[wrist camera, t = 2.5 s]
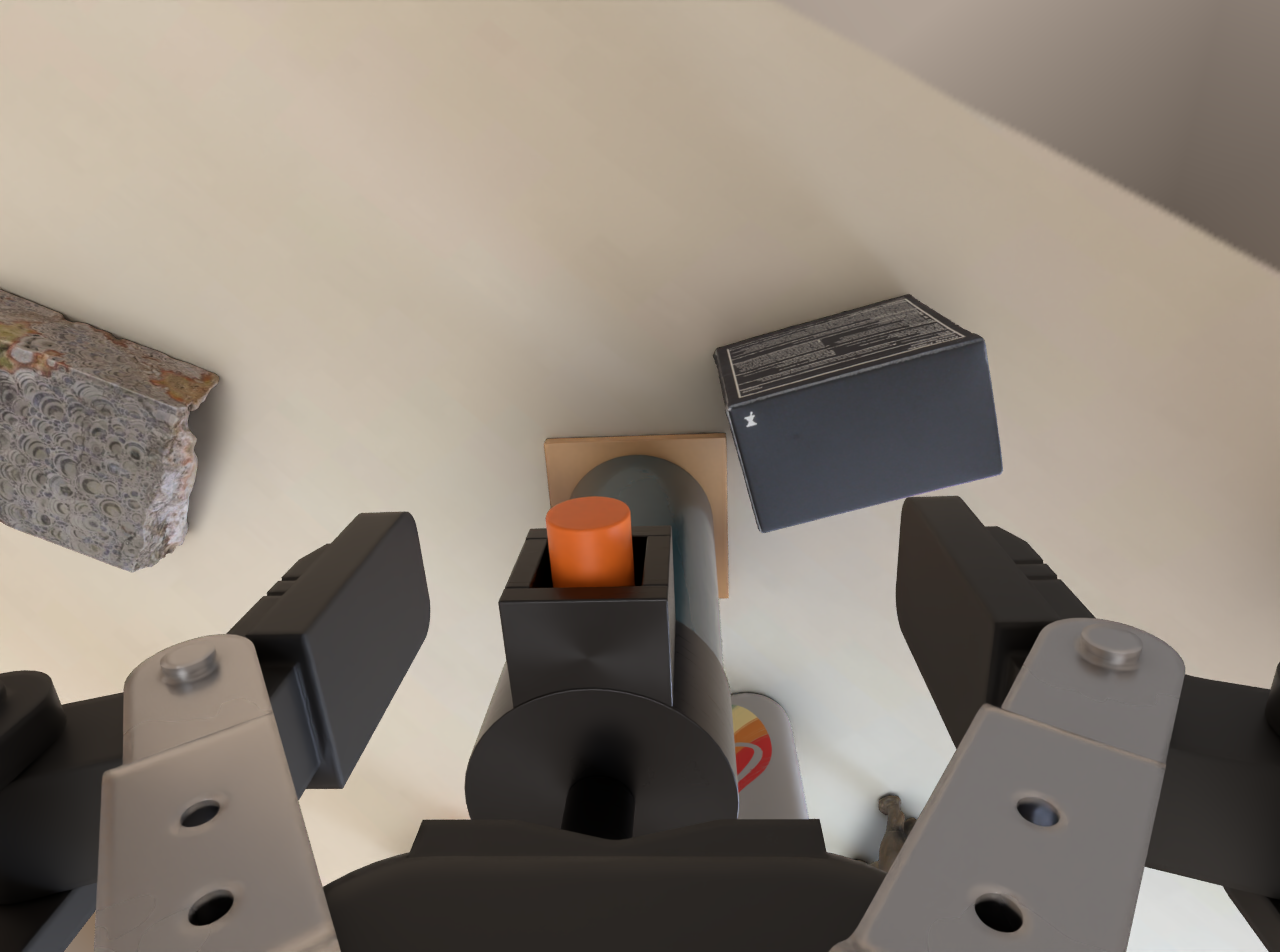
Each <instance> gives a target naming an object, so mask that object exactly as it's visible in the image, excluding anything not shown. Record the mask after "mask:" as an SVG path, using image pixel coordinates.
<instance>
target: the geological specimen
mask: <svg viewBox="0 0 1280 952" xmlns="http://www.w3.org/2000/svg"><path fill="white" fill-rule="evenodd" d="M218 382H219V376H217V375H216V374H215V373H212V372H209V371H207V370H204V369H202V368H199V367H197V366H194V365H192V364H189V363H186V362H183V361H180V360H177V359H173V358H170V357H169V356H167V355H166V354H164V353H161V352H159V351H156V350H153V349H151V348H148V347H145V346H140V345H138V344H136V343H134V342H131V341H129V340H126V339H116V338H115V337H114V336H113V335H112V334H111V333H109V332H106V331H104V330H99V329H95V328H94V327H92V326H91V325H89V324H86V323H79V322H76V323H73V322H70V321H66V320H65V318H64V317H63V314H61V313H59V312H56V311H53V310H51V309H48V308H45V307H43V306H41V305H38V304H36V303H33V302H31V301H28V300H26V299H23V298H21V297H18V296H15V295H13V294H10V293H8V292H5V291H3V290H1V289H0V522H2V523H4V524H5V525H7V526H9V527H12V528H14V529H17V530H19V531H22V532H25V533H27V534H30V535H33V536H35V537H38V538H41V539H44V540H46V541H49V542H52V543H54V544H57V545H60V546H62V547H65V548H68V549H70V550H73V551H75V552H78V553H81V554H84V555H86V556H89V557H91V558H94V559H97V560H99V561H102V562H104V563H107V564H109V565H112V566H115V567H118V568H121V569H123V570H126V571H129V572H135V571H137V570H139V569H143V568H146V567H152V566H154V565H155V564H156V563H157V562H159V560H160V559H161V558H164V557H165V555H166V554H168V553H173V551H174V550H175V548H176V546H178V545H182V544H183V542H184V537H185V536H186V534H187V531H188V522H187V521H186V520H187V512H188V505H189V495H190V493H191V491H192V489H193V484H194V482H195V477H196V472H197V467H198V458H197V456H196V454H195V452H194V447H195V444H196V441H197V439H196V437H195V436H194V435H193V434H192V433H191V431H190V429H189V428H188V423H187V422H188V416H189V414H190V411H194V410H196V409H197V408H199V405H200V403H201V402H204V401H205V399H206V396H207V395H208V393H209V391H210V390H211V389H212V388H213V387H215V386H216V385H217V384H218Z"/></svg>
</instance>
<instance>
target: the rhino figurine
mask: <svg viewBox="0 0 1280 952" xmlns="http://www.w3.org/2000/svg"><path fill="white" fill-rule="evenodd" d="M900 806H901V800H900V798H899V797H898V796H886V797H884V798H882V799H880V800H879V810H880V811H881V812H882V813H883V814H885V815H888V822H887V829H886V833H885V835H884V838H883V840H882V842H881V845H880V851H879V860H878V861H875V862H873V863H871V864H869V865H871V866H873V867H875V868H877V869H880V870H882V871H884V872H887V873H888V871H889V870H890V868H891V866H892V864H893V863H894V861H895V859H896V857H897V855H898V854H899V852H900V850H901V848H902V846H903V845H904V843H905V841H906V839H907V837H908V836H909V834H910V832H911V830H912V829H913V827H914V825H915V823H916V821H917V819H915V818H909V819H907V820H906V821H905V822H904V820H905V816H904V813H903V812H902V811H901V810H900ZM857 861H860V862H863V863H866V862H865V861H862V860H857ZM866 864H867V863H866Z"/></svg>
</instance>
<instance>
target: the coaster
mask: <svg viewBox="0 0 1280 952" xmlns="http://www.w3.org/2000/svg"><path fill="white" fill-rule="evenodd" d="M544 449H545V459H546V468H547V478H548V487H549V497H550V506H551V508H552V507H554V506H555V505H557V504H559V503H562V502H564V501H567V500H569V499H570V496H571V494H572V492H573V490H574V489H575V487H576V485H577V484H578V483H579V481H580V480H581V479H582V478H583V477H584V476H585V475H586V474H587V473H588V472H589V471H590V470H592V469H593V468H595V467H596V466H598V465H600V464H601V463H603V462H605V461H608V460H611V459H613V458H617V457H621V456H627V455H648V456H654V457H658V458H662V459H665V460H667V461H670V462H672V463H674V464H676V465H678V466H679V467H681V468H683V469H684V470H685V471H687V472H688V473H689V474H690V475H691V476H692V477H693V478H694V479H695V480H696V481H697V482H698V483H699V484H700V486H701V487H702V488H703V490H704V492H705V494H706V495H707V498H708V500H709V503H710V505H711V509H712V513H713V525H714V539H715V553H716V567H717V582H718V596H719V598H728V597H729V593H728V522H727V451H726V434H725V433H712V434H681V435H651V436H620V437H590V438H559V439H546V441H545V443H544Z"/></svg>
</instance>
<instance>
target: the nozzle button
mask: <svg viewBox="0 0 1280 952" xmlns="http://www.w3.org/2000/svg"><path fill="white" fill-rule="evenodd" d="M546 527H547V536H548V546H549V555H550V564H551V573H552V583H553V588H564V587H618V586H635V577H634V562H633V546H632V530H631V515H630V509H629V507H628V506H627V505H626V504H625V503H624V502H622V501H620V500H617V499H614V498H609V497H598V496H592V497H581V498H575V499H571V500H567V501H564V502H562V503H559V504H557V505H555V506H554V507H552V508H551V509H550V510H549V511H548V513H547V515H546Z"/></svg>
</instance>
